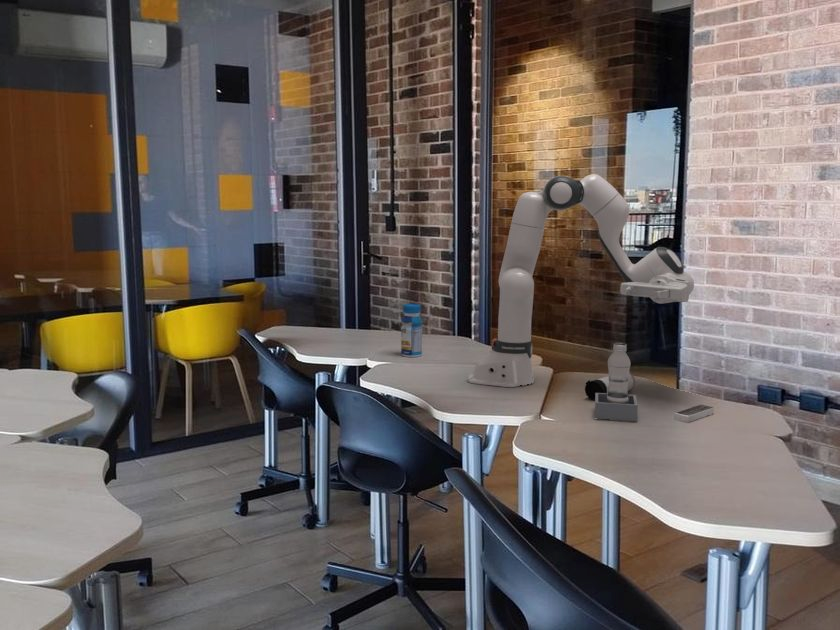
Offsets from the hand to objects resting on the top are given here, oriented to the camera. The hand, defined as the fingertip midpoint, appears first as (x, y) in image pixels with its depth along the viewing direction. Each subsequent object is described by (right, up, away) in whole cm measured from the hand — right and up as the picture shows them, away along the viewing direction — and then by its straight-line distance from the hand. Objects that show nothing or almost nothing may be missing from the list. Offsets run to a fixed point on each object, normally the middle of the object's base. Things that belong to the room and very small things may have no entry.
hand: (641, 293), depth 240 cm
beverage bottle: (-70, -23, +73) cm, 103 cm away
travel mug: (+1, -28, +21) cm, 35 cm away
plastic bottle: (-9, -35, -8) cm, 37 cm away
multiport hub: (+13, -37, -9) cm, 40 cm away
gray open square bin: (-10, -36, -8) cm, 38 cm away
